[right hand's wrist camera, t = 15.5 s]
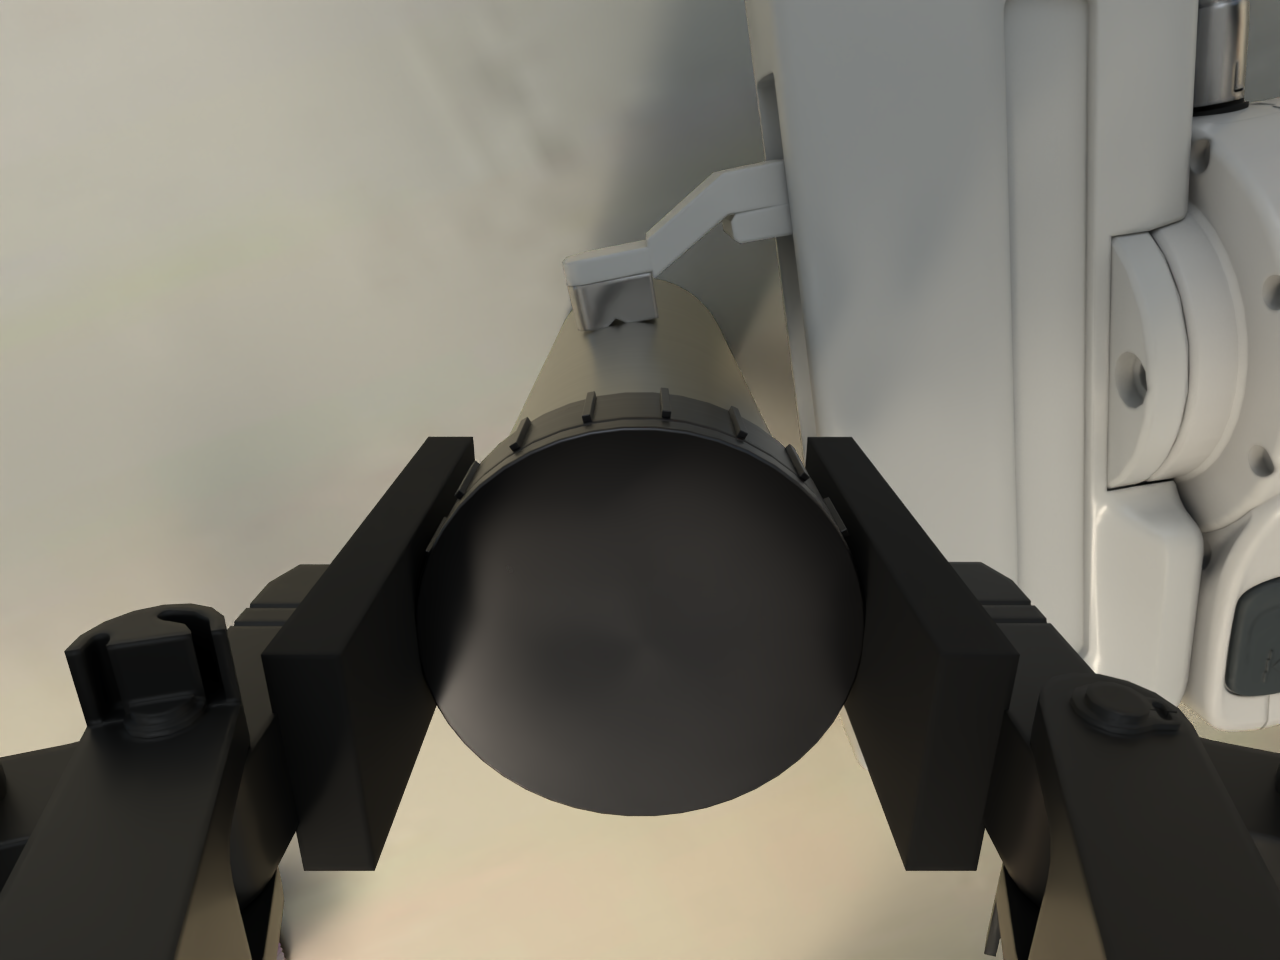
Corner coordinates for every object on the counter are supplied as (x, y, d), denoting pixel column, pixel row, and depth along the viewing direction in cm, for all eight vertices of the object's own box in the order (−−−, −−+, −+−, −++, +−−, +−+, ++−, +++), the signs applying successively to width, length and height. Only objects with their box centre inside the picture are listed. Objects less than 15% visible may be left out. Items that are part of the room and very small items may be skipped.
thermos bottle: (731, 437, 25) (839, 758, 12) (567, 454, 25) (482, 789, 12) (719, 267, 23) (832, 413, 10) (542, 287, 24) (407, 457, 10)
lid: (895, 429, 11) (936, 471, 9) (784, 770, 13) (803, 849, 12) (463, 347, 10) (433, 377, 9) (421, 713, 13) (392, 787, 11)
